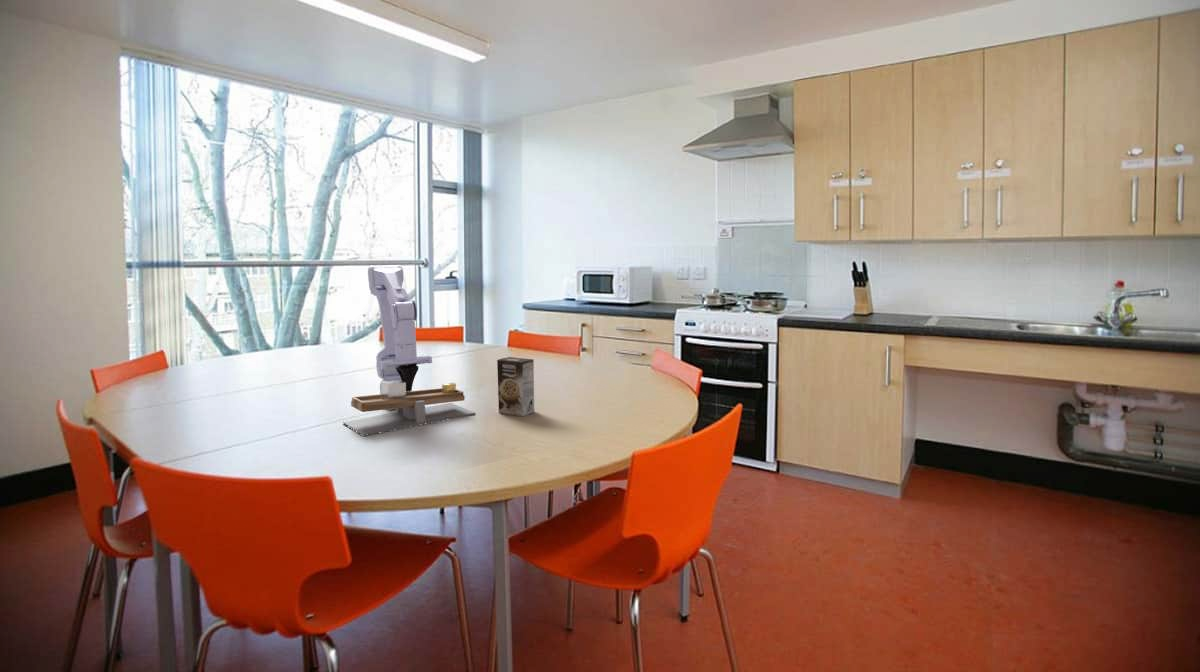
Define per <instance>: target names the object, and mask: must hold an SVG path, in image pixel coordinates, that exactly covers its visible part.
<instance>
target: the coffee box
mask: <svg viewBox="0 0 1200 672" xmlns="http://www.w3.org/2000/svg"><path fill="white" fill-rule="evenodd" d="M496 362H497V363H496V364H497V396H498V397H497V398H498V401H497V402H498V413H499V414H505V415H511V416H520V417H525V416H527V415H529V414H532V413H534V412H535V380H534V379H535V377H534V375H535V372H534V369H535V368H534V366H535V365H534V362H535V361H534V358H522V357H514V356H511V357H510V356H509V357H502V358H499V359H497V360H496Z"/></svg>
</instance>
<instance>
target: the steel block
mask: <svg viewBox="0 0 1200 672" xmlns="http://www.w3.org/2000/svg"><path fill="white" fill-rule="evenodd" d="M381 381H382V380H381ZM399 398H406V382H403V381H401V380H391V381H382V399H383V400H390V399H399Z"/></svg>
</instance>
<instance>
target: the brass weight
mask: <svg viewBox="0 0 1200 672" xmlns="http://www.w3.org/2000/svg"><path fill="white" fill-rule="evenodd" d="M441 384H442V385H441V388H442V394H447V393H456V389H457V383H453V382H443V383H441Z"/></svg>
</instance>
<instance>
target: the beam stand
mask: <svg viewBox="0 0 1200 672" xmlns="http://www.w3.org/2000/svg"><path fill="white" fill-rule="evenodd" d="M475 415H476V412H475V411H472V410H470V409H467V408H465V407H463V406H460V405H457V404H454V403H453V402H447V403H441V404H435V405H431V406H427V407H426V405H425V401H423V400H422V401H416V402H415V406H412V407H403V408H396V409H395V412H391V413H387V414H381V415H374V416H369V417H364V418H358V419H352V420H345V421H342V424H343V423H344V424H346V425H347V426H349V427H350V428H352V429H354V430H355V431H357V432H358V433H360V434H362V435H367V434H373V435H375V434H374V433H378V434H380V433H379V432H383V433H386V432H385V431H388V432H391V431H390V430H394V429H399V430H401V429H400V428H404V427H409V428H411V427H410V426H414V427H416V426H415V425H419V426H421V425H420V424H424V425H426V424H425V423H430V424H432V423H431V422H435V423H438V422H437V421H440V422H443V421H442V420H445V421H448V420H447V419H450V420H454V418H455V419H459V417H460V418H465V416H466V417H469V416H475ZM344 424H343V425H344ZM347 426H346V427H347ZM350 428H349V429H350ZM352 429H351V430H352ZM404 429H405V428H404ZM355 431H354V432H355ZM394 431H395V430H394ZM358 433H357V434H358ZM360 434H359V435H360Z"/></svg>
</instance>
